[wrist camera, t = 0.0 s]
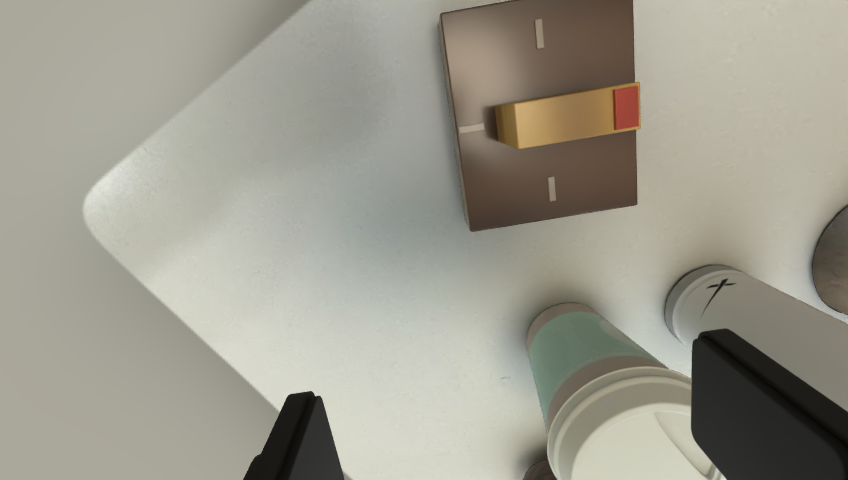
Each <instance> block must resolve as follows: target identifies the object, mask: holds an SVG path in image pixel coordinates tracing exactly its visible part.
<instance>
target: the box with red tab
mask: <svg viewBox="0 0 848 480" xmlns="http://www.w3.org/2000/svg"><path fill="white" fill-rule="evenodd" d="M495 115H496V124H497V132H498V141H499V142H501V143H504V144H506V145H509V146H512V147H515V148H517V149H523V148H529V147H535V146H541V145H547V144H553V143H559V142H565V141H571V140H577V139H582V138H588V137H594V136H600V135H606V134H612V133H618V132H624V131H630V130H636V129H640V127H641V124H640V83H639V82H634V83H626V84H619V85H612V86H605V87H598V88H591V89H585V90H580V91H574V92H568V93H562V94H556V95H551V96H545V97H539V98H533V99H528V100H522V101H516V102H510V103H505V104H499V105H495Z"/></svg>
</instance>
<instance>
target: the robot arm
mask: <svg viewBox="0 0 848 480" xmlns="http://www.w3.org/2000/svg"><path fill="white" fill-rule="evenodd" d="M691 432H692V436H693V438H694V440H695V442H696V443H697V445H698V446H699V447H700V449H701V450H702V451H703V452H704V453H705V454H706V456H707V457H708V458H709V459H710V460H711V462H712V463H713V464H714V465H715V466H716V468H717V469H718V470H719V471H720V472H721V474H722V475H723V476H724V477H725V478H726V479H727V480H848V411H846V410H845V409H843V408H842V407H840V406H839V405H838V404H836V403H835V402H833V401H832V400H830V399H829V398H827V397H826V396H825V395H823V394H822V393H820V392H819V391H817V390H816V389H815V388H813V387H812V386H810V385H809V384H807V383H806V382H805V381H803V380H802V379H800V378H799V377H797V376H796V375H794V374H793V373H792V372H790V371H789V370H787V369H786V368H784V367H783V366H782V365H780V364H779V363H777V362H776V361H774V360H773V359H772V358H770V357H769V356H767V355H766V354H764V353H763V352H761V351H760V350H759V349H757V348H756V347H754V346H753V345H751V344H750V343H749V342H747V341H746V340H744V339H743V338H741V337H740V336H739V335H737V334H736V333H734V332H733V331H731V330H729V329H727V328H723V329H716V330H710V331H703V332H701V333H699V335H698V339H694V340H693V343H692V383H691ZM243 480H344V476H343V472H342V469H341V465H340V462H339V458H338V454H337V451H336V447H335V444H334V440H333V436H332V433H331V429H330V426H329V422H328V418H327V415H326V411H325V407H324V404H323V400H322V398H321V396H315V395H314V393H313V392H312V391H309V392H302V393H296V394H290V395H288V397H287V398H286V401H285V403H284V405H283V407H282V409H281V411H280V414H279V416H278V418H277V420H276V422H275V425H274V427H273V429H272V431H271V433H270V435H269V438H268V440H267V442H266V444H265V446H264V448H263V451H262V453H261V454H260V455H257V456H256V457H255V458H254V459H253V461H252V463H251V464H250V467H249V469H248V471H247V473H246V475H245V477H244V479H243Z"/></svg>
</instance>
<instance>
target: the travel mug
mask: <svg viewBox="0 0 848 480" xmlns="http://www.w3.org/2000/svg"><path fill="white" fill-rule="evenodd" d="M665 320H666V323H667V326H668V328H669V330H670V332H671V333H672V334H673V335H674V336H675V337H676V338H677V339H678V340H679V341H680V342H681V343H683V344H684V345H685V346H686V347H688V348H689V349H690V350H691V351H692V343H693V340H694V339H698V335H699V333H701V332H703V331H710V330H716V329H723V328H727V329H729V330H731V331H733V332H734V333H736V334H737V335H739V336H740V337H741V338H743V339H744V340H746V341H747V342H749V343H750V344H751V345H753V346H754V347H756V348H757V349H759V350H760V351H761V352H763V353H764V354H766V355H767V356H769V357H770V358H772V359H773V360H774V361H776V362H777V363H779V364H780V365H782V366H783V367H784V368H786V369H787V370H789V371H790V372H792V373H793V374H794V375H796V376H797V377H799V378H800V379H802V380H803V381H805V382H806V383H807V384H809V385H810V386H812V387H813V388H815V389H816V390H817V391H819V392H820V393H822V394H823V395H825V396H826V397H827V398H829V399H830V400H832V401H833V402H835V403H836V404H838V405H839V406H840V407H842V408H843V409H845V410H846V411H848V324H846V323H844V322H842V321H840V320H838V319H836V318H834V317H832V316H830V315H828V314H826V313H824V312H822V311H820V310H818V309H816V308H814V307H812V306H810V305H808V304H806V303H804V302H802V301H800V300H798V299H796V298H794V297H792V296H790V295H788V294H786V293H784V292H782V291H780V290H778V289H776V288H774V287H772V286H769V285H767V284H765V283H763V282H761V281H759V280H757V279H755V278H753V277H751V276H749V275H747V274H745V273H743V272H741V271H739V270H737V269H735V268H732V267H729V266H724V265H713V266H707V267H703V268H700V269H698V270H695V271H693V272H691V273H690V274H688V275H686V276H685V277H684V278H683V279H681V280H680V281H679V282H678V283H677V284H676V286H675V287H674V288H673V290H672V291H671V293H670V294H669V297H668V299H667V302H666V307H665Z"/></svg>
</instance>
